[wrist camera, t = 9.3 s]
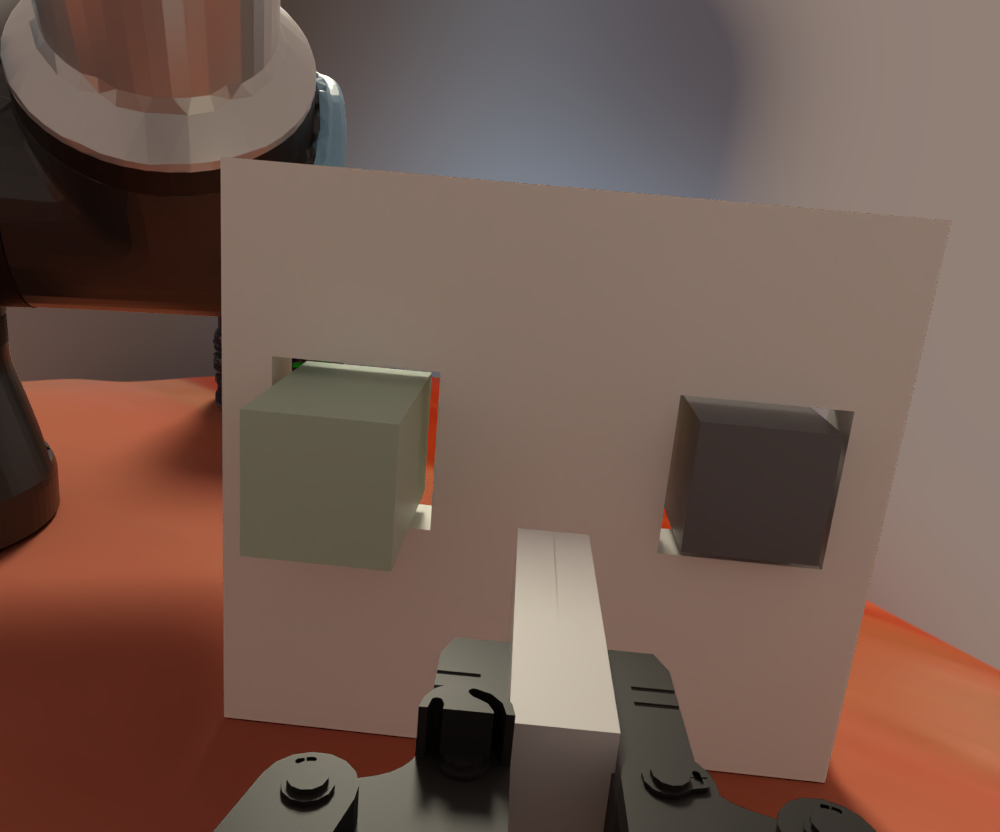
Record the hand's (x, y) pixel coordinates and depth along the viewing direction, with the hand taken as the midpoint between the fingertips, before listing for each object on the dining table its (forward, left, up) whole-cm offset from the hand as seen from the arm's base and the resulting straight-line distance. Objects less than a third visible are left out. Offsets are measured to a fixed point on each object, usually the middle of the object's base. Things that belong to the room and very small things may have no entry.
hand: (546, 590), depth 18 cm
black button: (+5, +10, -2) cm, 12 cm away
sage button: (-6, +6, -2) cm, 9 cm away
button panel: (-1, +11, -10) cm, 14 cm away
